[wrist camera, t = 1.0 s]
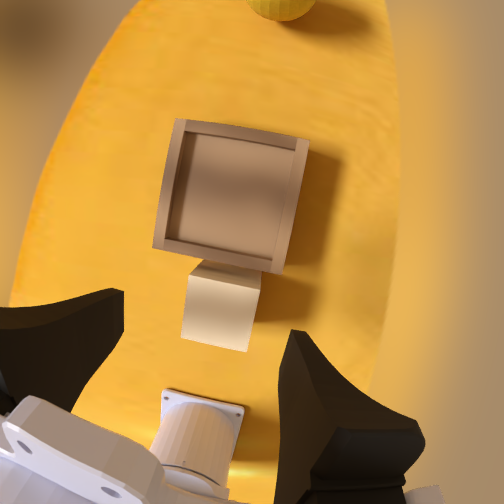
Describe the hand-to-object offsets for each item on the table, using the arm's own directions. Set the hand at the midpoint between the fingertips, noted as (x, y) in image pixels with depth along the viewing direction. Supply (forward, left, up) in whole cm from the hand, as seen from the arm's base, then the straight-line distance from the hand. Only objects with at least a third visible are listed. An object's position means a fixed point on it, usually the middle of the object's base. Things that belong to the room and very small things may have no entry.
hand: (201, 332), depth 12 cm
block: (-2, 0, -12) cm, 12 cm away
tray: (+5, +1, -12) cm, 13 cm away
